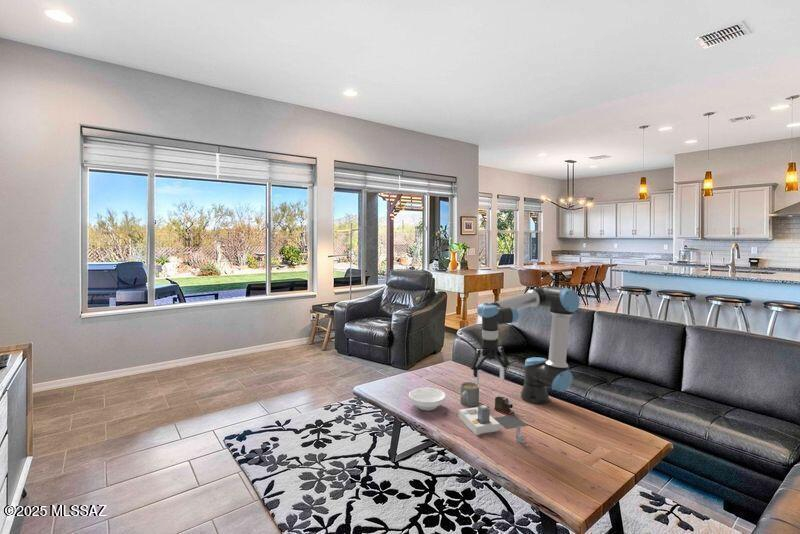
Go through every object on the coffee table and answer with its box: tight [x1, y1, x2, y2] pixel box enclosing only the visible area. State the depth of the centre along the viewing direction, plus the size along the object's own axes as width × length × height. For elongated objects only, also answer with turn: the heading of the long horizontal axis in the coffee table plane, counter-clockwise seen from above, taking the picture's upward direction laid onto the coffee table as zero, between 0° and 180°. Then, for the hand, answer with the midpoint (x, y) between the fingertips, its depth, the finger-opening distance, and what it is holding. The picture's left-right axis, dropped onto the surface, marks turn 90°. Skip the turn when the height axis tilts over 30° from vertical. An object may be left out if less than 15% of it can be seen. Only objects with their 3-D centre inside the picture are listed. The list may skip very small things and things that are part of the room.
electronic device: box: [493, 395, 515, 416], centre depth 207 cm, size 4×10×8 cm, turn 44°
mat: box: [493, 414, 528, 430], centre depth 195 cm, size 12×12×1 cm
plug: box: [477, 404, 491, 424], centre depth 188 cm, size 4×4×11 cm
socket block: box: [457, 406, 501, 436], centre depth 193 cm, size 12×19×4 cm, turn 17°
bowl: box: [408, 387, 446, 411], centre depth 211 cm, size 20×20×7 cm
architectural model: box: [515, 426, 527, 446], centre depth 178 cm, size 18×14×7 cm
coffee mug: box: [459, 381, 480, 408], centre depth 216 cm, size 13×10×10 cm
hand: (489, 381), depth 190 cm, fingers open, 13 cm apart
